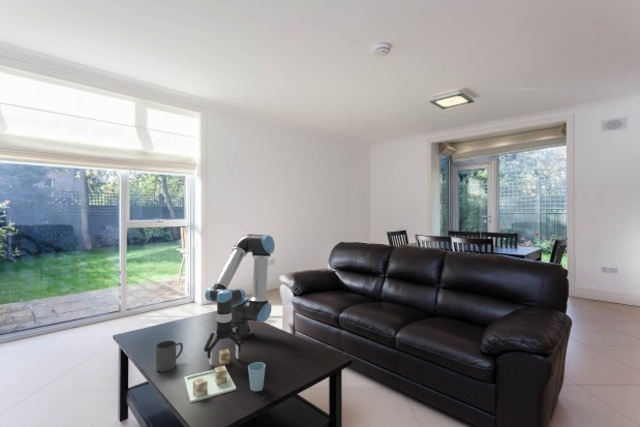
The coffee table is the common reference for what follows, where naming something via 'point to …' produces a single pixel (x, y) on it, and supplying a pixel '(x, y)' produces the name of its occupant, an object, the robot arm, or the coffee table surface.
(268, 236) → the robot arm
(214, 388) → the tray
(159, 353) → the mug
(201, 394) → the maple block
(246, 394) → the coffee table surface
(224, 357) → the oak block
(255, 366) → the cup
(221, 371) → the beech block
